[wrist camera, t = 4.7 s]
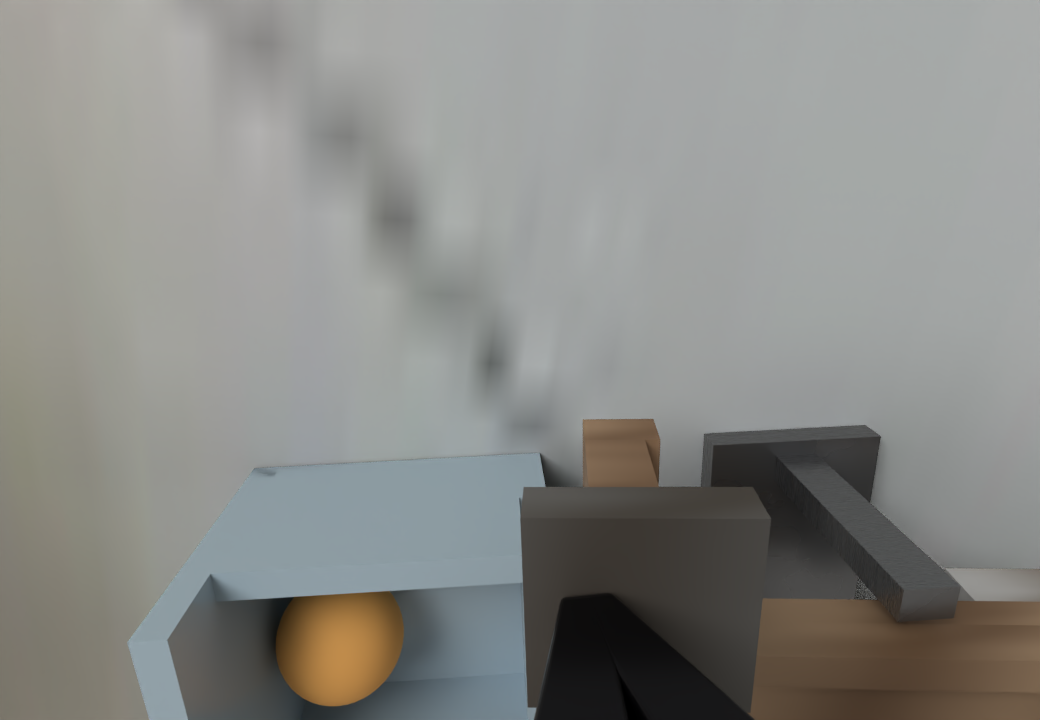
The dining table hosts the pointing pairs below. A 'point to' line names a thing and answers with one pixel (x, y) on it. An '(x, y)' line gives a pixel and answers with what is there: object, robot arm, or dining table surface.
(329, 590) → the box
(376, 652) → the ball
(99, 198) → the dining table surface
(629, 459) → the lever
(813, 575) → the pivot stand
